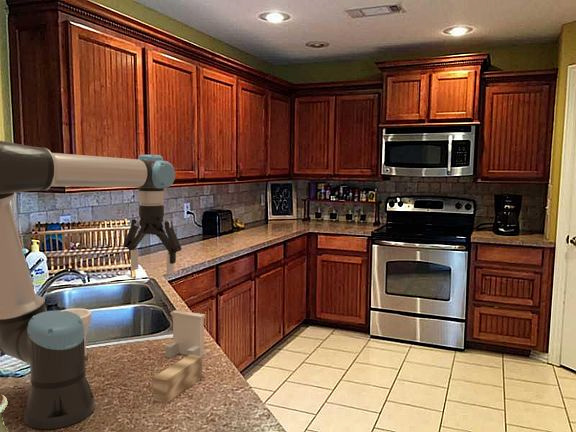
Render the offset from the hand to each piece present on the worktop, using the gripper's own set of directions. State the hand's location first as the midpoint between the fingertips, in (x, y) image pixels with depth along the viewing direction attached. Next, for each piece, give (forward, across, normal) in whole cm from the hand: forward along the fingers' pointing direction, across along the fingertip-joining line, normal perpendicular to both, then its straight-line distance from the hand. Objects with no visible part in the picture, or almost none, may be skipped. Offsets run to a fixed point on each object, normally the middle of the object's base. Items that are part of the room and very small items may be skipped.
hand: (152, 271), depth 152 cm
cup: (+26, +16, +16) cm, 35 cm away
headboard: (+25, -13, 0) cm, 28 cm away
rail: (+25, -23, +20) cm, 40 cm away
